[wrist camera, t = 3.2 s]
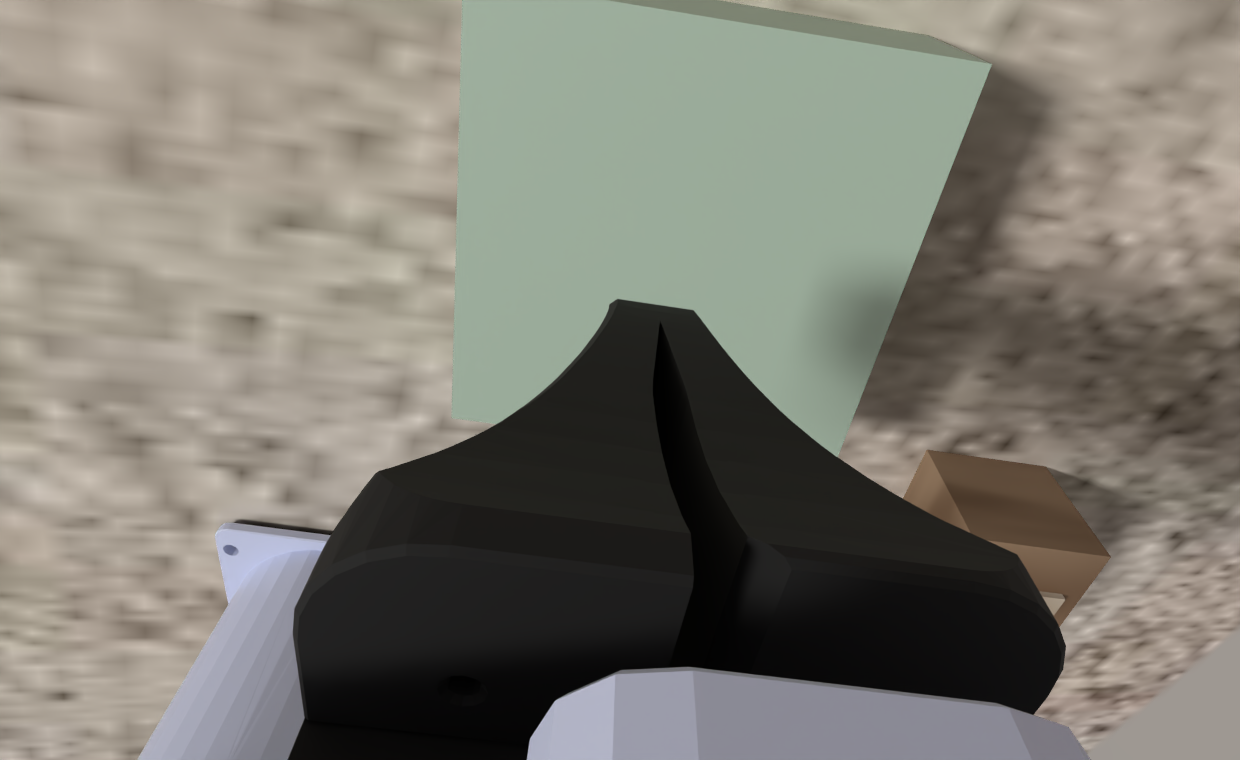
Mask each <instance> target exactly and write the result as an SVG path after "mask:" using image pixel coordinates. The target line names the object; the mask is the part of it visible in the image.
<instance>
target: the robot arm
mask: <svg viewBox="0 0 1240 760" xmlns="http://www.w3.org/2000/svg"><path fill="white" fill-rule="evenodd" d="M215 540H216V545H217V550H218V555H219V560H220V565H221V570H222V575H223V580H224V585H225V590H226V595H227V600H228V606H227V608H226V610H225V611H224V613H223V615H222V616H221V618H220V620H219V622H218V623H217V625H216V627H215V628H214V630H213V632H212V633H211V635H210V637H209V639H208V640H207V642H206V644H205V645H204V647H203V649H202V650H201V652H200V654H199V656H198V657H197V659H196V661H195V662H194V664H193V666H192V667H191V669H190V671H189V673H188V674H187V676H186V678H185V679H184V681H183V683H182V684H181V686H180V688H179V690H178V691H177V693H176V695H175V696H174V698H173V700H172V701H171V703H170V705H169V707H168V708H167V710H166V712H165V713H164V715H163V717H162V718H161V720H160V722H159V724H158V725H157V727H156V729H155V730H154V732H153V734H152V735H151V737H150V739H149V741H148V742H147V744H146V746H145V747H144V749H143V751H142V752H141V754H140V756H139V758H138V759H137V760H1091V759H1090V757H1089V756H1088V755H1087V753H1086V752H1085V750H1084V749H1083V747H1082V746H1081V744H1080V743H1079V741H1078V740H1077V739H1076V737H1075V736H1074V734H1073V733H1072V731H1071V730H1070V728H1069V727H1067V726H1064V725H1061V724H1059V723H1056V722H1053V721H1050V720H1047V719H1044V718H1041V717H1038V716H1035V715H1034V713H1035V712H1036V711H1037V710H1038V708H1039V707H1040V706H1041V704H1042V703H1043V702H1044V701H1045V699H1046V698H1047V697H1048V695H1049V693H1050V692H1051V690H1052V688H1053V686H1054V685H1055V683H1056V681H1057V679H1058V678H1059V676H1060V674H1061V672H1062V670H1063V665H1064V658H1065V650H1066V645H1065V642H1064V639H1063V636H1062V634H1061V631H1060V628H1059V625H1058V623H1057V621H1056V619H1055V618H1054V616H1053V614H1052V612H1051V611H1050V609H1049V607H1048V606H1047V604H1046V602H1045V600H1044V599H1043V597H1042V595H1041V593H1040V592H1039V590H1038V588H1037V587H1036V585H1035V583H1034V581H1033V580H1032V578H1031V576H1030V574H1029V573H1028V571H1027V569H1026V568H1025V566H1024V564H1023V563H1022V561H1021V560H1020V558H1019V556H1018V555H1017V554H1015V553H1013V552H1011V551H1009V550H1007V549H1004V548H1002V547H1000V546H998V545H996V544H993V543H991V542H989V541H987V540H985V539H983V538H980V537H978V536H976V535H974V534H972V533H969V532H967V531H965V530H963V529H961V528H959V527H956V526H954V525H952V524H950V523H948V522H945V521H943V520H941V519H939V518H937V517H935V516H933V515H932V514H930V513H928V512H926V511H924V510H922V509H921V508H919V507H917V506H915V505H913V504H912V503H910V502H908V501H906V500H904V499H902V498H901V497H899V496H897V495H895V494H893V493H892V492H890V491H888V490H887V489H885V488H884V487H882V486H880V485H879V484H877V483H875V482H874V481H872V480H870V479H869V478H867V477H866V476H864V475H863V474H861V473H860V472H858V471H857V470H855V469H854V468H852V467H851V466H850V465H848V464H847V463H845V462H844V461H842V460H841V459H839V458H838V457H836V456H835V455H834V454H832V453H831V452H829V451H828V450H827V449H825V448H824V447H823V446H821V445H820V444H819V443H818V442H816V441H815V440H814V439H813V438H811V437H810V436H809V435H808V434H807V433H805V432H804V431H803V430H802V429H801V428H799V427H798V426H797V425H796V424H795V423H793V422H792V421H791V420H790V419H789V418H788V417H787V416H785V415H784V414H783V413H782V412H781V411H780V410H779V409H778V408H777V407H776V406H775V405H774V404H773V403H772V402H771V401H770V400H769V399H768V398H767V397H766V396H765V395H764V394H763V393H762V392H761V391H760V390H759V389H758V388H757V387H756V386H755V385H754V384H753V383H752V381H751V380H750V379H749V378H748V377H747V376H746V375H745V374H744V373H743V371H742V370H741V369H740V368H739V367H738V366H737V364H736V363H735V362H734V361H733V360H732V358H731V357H730V356H729V355H728V354H727V352H726V351H725V350H724V349H723V347H722V346H721V345H720V344H719V342H718V341H717V340H716V338H715V337H714V336H713V335H712V333H711V332H710V331H709V329H708V328H707V327H706V325H705V324H704V323H703V321H702V320H701V319H700V317H699V316H698V315H697V314H696V312H695V311H694V310H690V309H683V308H676V307H669V306H663V305H656V304H649V303H642V302H636V301H629V300H622V299H617V300H615V301H614V302H612V303H610V304H609V309H608V312H607V314H606V316H605V318H604V320H603V322H602V324H601V325H600V327H599V328H598V330H597V331H596V333H595V334H594V336H593V337H592V338H591V340H590V341H589V342H588V344H587V345H586V346H585V348H584V349H583V350H582V351H581V353H580V354H579V355H578V356H577V357H576V358H575V359H574V360H573V362H572V363H571V364H570V365H569V366H568V367H567V368H566V369H565V370H564V371H563V372H562V373H561V374H560V375H559V376H558V377H557V378H556V379H555V380H554V381H553V382H552V383H551V384H550V385H549V386H548V387H547V388H545V389H544V390H543V391H542V392H541V393H540V394H538V395H537V396H536V397H535V398H533V399H532V400H531V401H530V402H528V403H527V404H526V405H524V406H523V407H521V408H520V409H519V410H517V411H516V412H514V413H513V414H511V415H510V416H508V417H507V418H505V419H504V420H502V421H501V422H499V423H498V424H496V425H494V426H493V427H491V428H489V429H487V430H485V431H484V432H482V433H480V434H478V435H476V436H474V437H472V438H469V439H467V440H465V441H463V442H460V443H458V444H456V445H454V446H452V447H449V448H447V449H444V450H442V451H439V452H437V453H434V454H431V455H428V456H425V457H422V458H419V459H416V460H413V461H410V462H407V463H404V464H401V465H398V466H395V467H392V468H388V469H385V470H381V471H378V472H377V473H376V474H375V475H374V476H373V477H372V479H371V480H370V481H369V482H368V484H367V485H366V486H365V487H364V489H363V490H362V491H361V493H360V494H359V495H358V497H357V498H356V499H355V501H354V502H353V503H352V505H351V506H350V508H349V509H348V511H347V512H346V514H345V515H344V516H343V518H342V519H341V521H340V522H339V523H338V525H337V526H336V528H335V529H334V531H333V533H332V534H331V535H325V534H317V533H309V532H301V531H293V530H286V529H278V528H270V527H262V526H254V525H246V524H239V523H225V524H222V525H221V526H220V527H219V529H218V530H217V532H216V533H215ZM234 546H235V547H234Z"/></svg>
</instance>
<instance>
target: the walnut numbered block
mask: <svg viewBox="0 0 1240 760" xmlns="http://www.w3.org/2000/svg"><path fill="white" fill-rule="evenodd" d="M903 499H904V500H906V501H908V502H910V503H912V504H913V505H915V506H917V507H919V508H921V509H922V510H924V511H926V512H928V513H930V514H932V515H933V516H935V517H937V518H939V519H941V520H943V521H945V522H948V523H950V524H952V525H954V526H956V527H959V528H961V529H963V530H965V531H967V532H969V533H972V534H974V535H976V536H978V537H980V538H983V539H985V540H987V541H989V542H991V543H993V544H996V545H998V546H1000V547H1002V548H1004V549H1007V550H1009V551H1011V552H1013V553H1015V554H1017V555H1018V556H1019V558H1020V560H1021V561H1022V563H1023V564H1024V566H1025V568H1026V569H1027V571H1028V573H1029V574H1030V576H1031V578H1032V580H1033V581H1034V583H1035V585H1036V587H1037V588H1038V590H1039V592H1040V593H1041V595H1042V597H1043V599H1044V600H1045V602H1046V604H1047V606H1048V607H1049V609H1050V611H1051V612H1052V614H1053V616H1054V618H1055V619H1056V621H1057V623H1058V625H1059V627H1060V625H1061V624H1062V623H1063V621H1064V620H1065V619H1066V617H1067V616H1068V615H1069V613H1070V612H1071V610H1072V609H1073V608H1074V606H1075V605H1076V604H1077V602H1078V601H1079V600H1080V598H1081V597H1082V596H1083V594H1084V593H1085V592H1086V590H1087V589H1088V587H1089V586H1090V585H1091V583H1092V582H1093V581H1094V579H1095V578H1096V577H1097V575H1098V574H1099V573H1100V571H1101V570H1102V569H1103V567H1104V566H1105V564H1106V563H1107V562H1108V560H1109V559H1110V558H1111V556H1110V555H1109V554H1108V552H1107V551H1106V550H1105V548H1104V547H1103V545H1102V544H1101V543H1100V541H1099V540H1098V538H1097V537H1096V536H1095V534H1094V533H1093V532H1092V530H1091V529H1090V527H1089V526H1088V525H1087V523H1086V522H1085V520H1084V519H1083V518H1082V516H1081V515H1080V513H1079V512H1078V511H1077V509H1076V508H1075V507H1074V505H1073V504H1072V502H1071V501H1070V500H1069V498H1068V497H1067V495H1066V494H1065V493H1064V491H1063V490H1062V489H1061V487H1060V486H1059V484H1058V483H1057V482H1056V480H1055V479H1054V477H1053V476H1052V475H1051V473H1050V472H1049V471H1048V469H1047V468H1046V467H1044V466H1037V465H1030V464H1023V463H1016V462H1009V461H1002V460H995V459H988V458H981V457H974V456H967V455H960V454H953V453H946V452H939V451H932V450H927V451H926V453H925V455H924V457H923V459H922V461H921V463H920V465H919V467H918V469H917V471H916V473H915V475H914V477H913V479H912V481H911V483H910V486H909V488H908V490H907V492H906V494H905V496H904V498H903Z"/></svg>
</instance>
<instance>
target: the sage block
mask: <svg viewBox="0 0 1240 760" xmlns="http://www.w3.org/2000/svg"><path fill="white" fill-rule="evenodd" d="M991 66H992V64H991V63H989V62H986V61H984V60H982V59H980V58H977V57H975V56H973V55H971V54H969V53H966V52H964V51H962V50H960V49H958V48H955V47H953V46H951V45H949V44H947V43H944V42H942V41H940V40H938V39H935V38H933V37H931V36H929V35H923V34H917V33H911V32H905V31H899V30H893V29H887V28H881V27H875V26H869V25H863V24H857V23H851V22H845V21H839V20H833V19H827V18H821V17H815V16H809V15H803V14H797V13H791V12H785V11H779V10H773V9H767V8H761V7H755V6H749V5H743V4H737V3H732V2H726V1H720V0H462V31H461V70H460V109H459V148H458V187H457V226H456V266H455V305H454V344H453V383H452V418H455V419H462V420H470V421H478V422H485V423H493V424H498V423H499V422H501V421H502V420H504V419H505V418H507V417H508V416H510V415H511V414H513V413H514V412H516V411H517V410H519V409H520V408H521V407H523V406H524V405H526V404H527V403H528V402H530V401H531V400H532V399H533V398H535V397H536V396H537V395H538V394H540V393H541V392H542V391H543V390H544V389H545V388H547V387H548V386H549V385H550V384H551V383H552V382H553V381H554V380H555V379H556V378H557V377H558V376H559V375H560V374H561V373H562V372H563V371H564V370H565V369H566V368H567V367H568V366H569V365H570V364H571V363H572V362H573V360H574V359H575V358H576V357H577V356H578V355H579V354H580V353H581V351H582V350H583V349H584V348H585V346H586V345H587V344H588V342H589V341H590V340H591V338H592V337H593V336H594V334H595V333H596V331H597V330H598V328H599V327H600V325H601V324H602V322H603V320H604V318H605V316H606V314H607V312H608V309H609V304H610V303H612V302H614V301H615V300H617V299H622V300H629V301H636V302H642V303H649V304H656V305H663V306H669V307H676V308H683V309H690V310H694V311H695V312H696V314H697V315H698V316H699V317H700V319H701V320H702V321H703V323H704V324H705V325H706V327H707V328H708V329H709V331H710V332H711V333H712V335H713V336H714V337H715V338H716V340H717V341H718V342H719V344H720V345H721V346H722V347H723V349H724V350H725V351H726V352H727V354H728V355H729V356H730V357H731V358H732V360H733V361H734V362H735V363H736V364H737V366H738V367H739V368H740V369H741V370H742V371H743V373H744V374H745V375H746V376H747V377H748V378H749V379H750V380H751V381H752V383H753V384H754V385H755V386H756V387H757V388H758V389H759V390H760V391H761V392H762V393H763V394H764V395H765V396H766V397H767V398H768V399H769V400H770V401H771V402H772V403H773V404H774V405H775V406H776V407H777V408H778V409H779V410H780V411H781V412H782V413H783V414H784V415H785V416H787V417H788V418H789V419H790V420H791V421H792V422H793V423H795V424H796V425H797V426H798V427H799V428H801V429H802V430H803V431H804V432H805V433H807V434H808V435H809V436H810V437H811V438H813V439H814V440H815V441H816V442H818V443H819V444H820V445H821V446H823V447H824V448H825V449H827V450H828V451H829V452H831V453H832V454H834V455H835V456H836V457H838V455H839V452H840V450H841V447H842V444H843V442H844V439H845V437H846V434H847V432H848V429H849V427H850V424H851V422H852V419H853V416H854V414H855V411H856V409H857V406H858V404H859V401H860V399H861V396H862V394H863V391H864V389H865V386H866V383H867V381H868V378H869V376H870V373H871V371H872V368H873V366H874V363H875V361H876V358H877V355H878V353H879V350H880V348H881V345H882V343H883V340H884V338H885V335H886V333H887V330H888V327H889V325H890V322H891V320H892V317H893V315H894V312H895V310H896V307H897V305H898V302H899V300H900V297H901V294H902V292H903V289H904V287H905V284H906V282H907V279H908V277H909V274H910V272H911V269H912V266H913V264H914V261H915V259H916V256H917V254H918V251H919V249H920V246H921V244H922V241H923V238H924V236H925V233H926V231H927V228H928V226H929V223H930V221H931V218H932V216H933V213H934V211H935V208H936V205H937V203H938V200H939V198H940V195H941V193H942V190H943V188H944V185H945V183H946V180H947V177H948V175H949V172H950V170H951V167H952V165H953V162H954V160H955V157H956V155H957V152H958V149H959V147H960V144H961V142H962V139H963V137H964V134H965V132H966V129H967V127H968V124H969V122H970V119H971V116H972V114H973V111H974V109H975V106H976V104H977V101H978V99H979V96H980V94H981V91H982V88H983V86H984V83H985V81H986V78H987V76H988V73H989V71H990V68H991Z"/></svg>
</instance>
